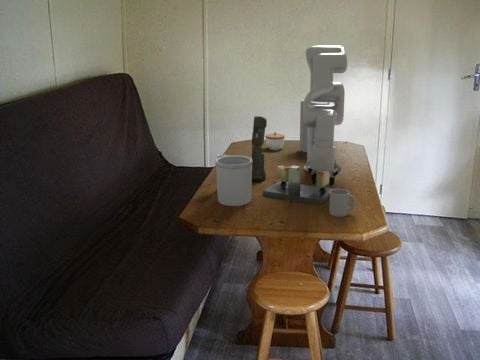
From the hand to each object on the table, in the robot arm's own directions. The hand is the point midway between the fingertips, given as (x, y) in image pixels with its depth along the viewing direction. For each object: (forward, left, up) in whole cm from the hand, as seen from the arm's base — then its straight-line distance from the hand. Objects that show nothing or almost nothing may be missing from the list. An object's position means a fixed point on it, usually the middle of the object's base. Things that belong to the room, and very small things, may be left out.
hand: (322, 184), depth 235 cm
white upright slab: (-71, -33, -5) cm, 78 cm away
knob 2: (0, 0, -2) cm, 2 cm away
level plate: (+4, -9, -5) cm, 11 cm away
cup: (+18, +15, -5) cm, 24 cm away
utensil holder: (+24, -29, -5) cm, 38 cm away
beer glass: (+13, -40, -5) cm, 42 cm away
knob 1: (0, -18, -2) cm, 18 cm away
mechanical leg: (-9, -35, -5) cm, 36 cm away
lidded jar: (-66, -54, -5) cm, 85 cm away
